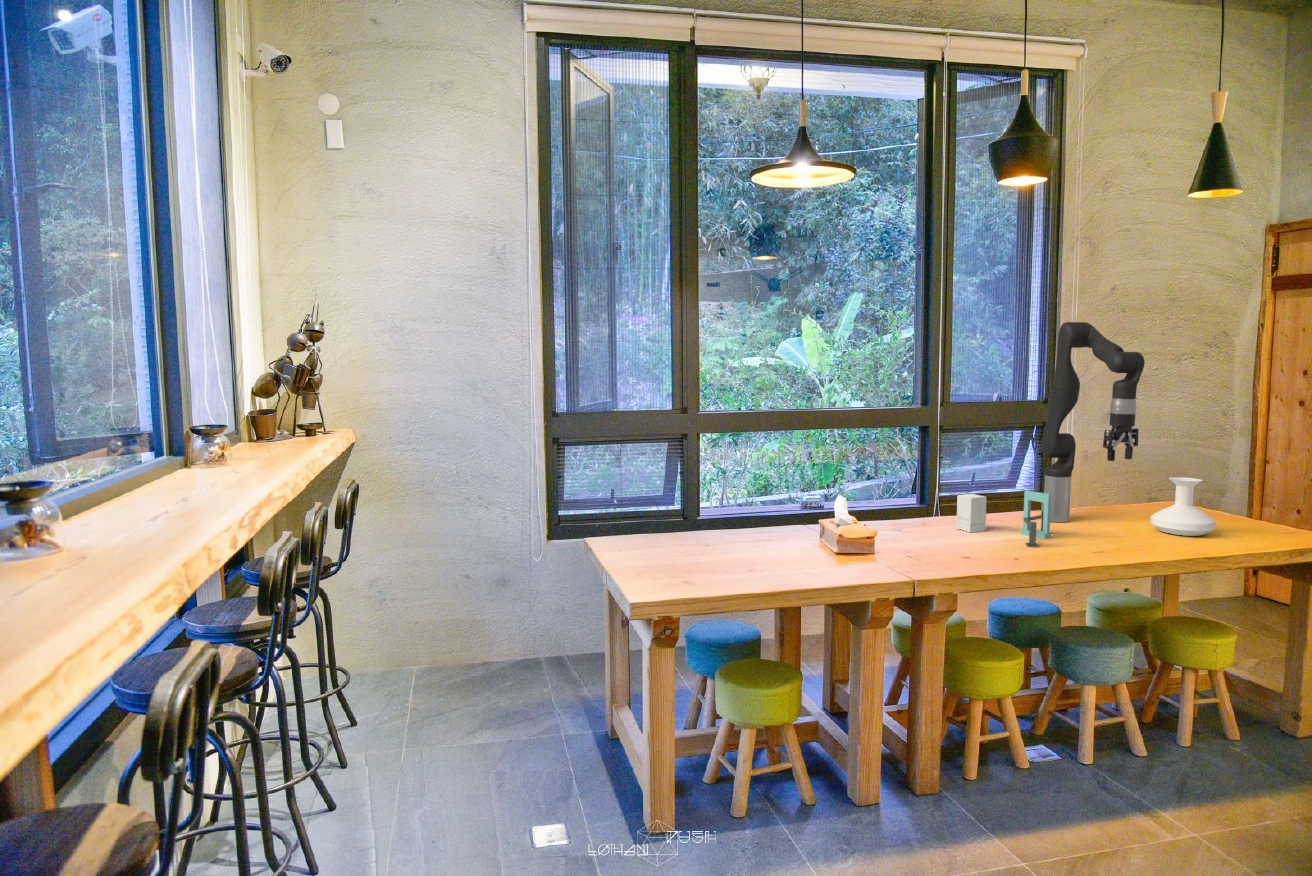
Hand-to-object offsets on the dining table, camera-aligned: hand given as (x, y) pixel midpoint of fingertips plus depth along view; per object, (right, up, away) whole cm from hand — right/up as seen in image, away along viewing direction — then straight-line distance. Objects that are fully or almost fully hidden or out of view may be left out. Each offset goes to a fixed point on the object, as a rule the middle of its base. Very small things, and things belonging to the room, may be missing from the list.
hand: (1119, 460), depth 295 cm
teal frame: (-22, -27, +13) cm, 37 cm away
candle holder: (+32, -27, +18) cm, 45 cm away
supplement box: (-42, -26, +23) cm, 54 cm away
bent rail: (-24, -28, +7) cm, 37 cm away
